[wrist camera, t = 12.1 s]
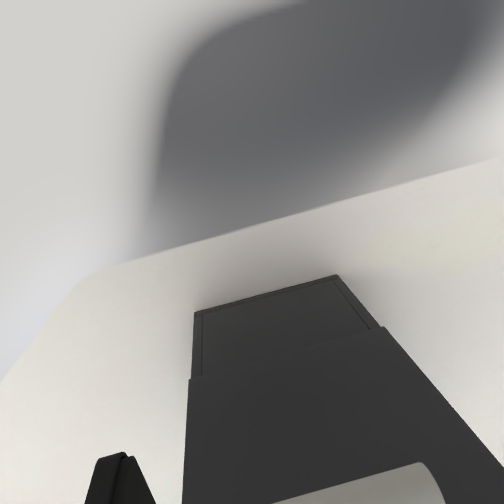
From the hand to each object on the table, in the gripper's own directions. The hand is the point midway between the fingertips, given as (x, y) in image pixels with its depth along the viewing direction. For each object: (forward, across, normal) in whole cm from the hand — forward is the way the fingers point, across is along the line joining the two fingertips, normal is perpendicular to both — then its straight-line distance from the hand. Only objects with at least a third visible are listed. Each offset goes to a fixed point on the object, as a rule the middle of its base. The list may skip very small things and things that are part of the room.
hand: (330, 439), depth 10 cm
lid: (+7, 0, +9) cm, 11 cm away
